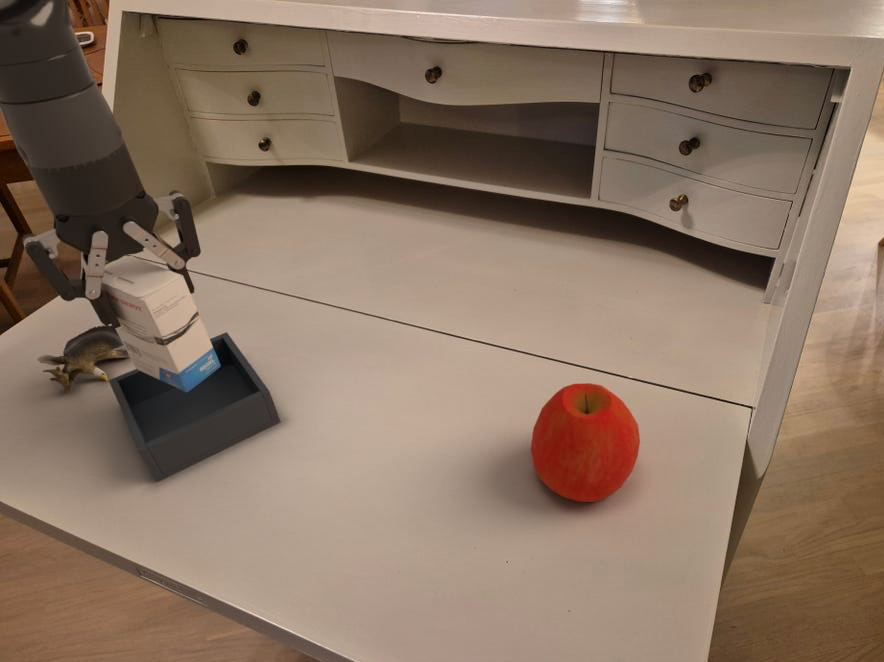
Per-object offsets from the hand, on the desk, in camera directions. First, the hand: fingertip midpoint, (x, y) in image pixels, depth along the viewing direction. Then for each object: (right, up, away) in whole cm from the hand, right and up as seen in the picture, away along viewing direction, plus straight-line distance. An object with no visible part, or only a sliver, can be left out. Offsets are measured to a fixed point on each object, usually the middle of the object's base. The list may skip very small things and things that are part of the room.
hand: (151, 310), depth 63 cm
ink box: (0, -6, +5) cm, 8 cm away
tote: (+1, -11, +10) cm, 15 cm away
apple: (+43, -16, +1) cm, 46 cm away
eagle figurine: (-15, -7, +16) cm, 23 cm away
